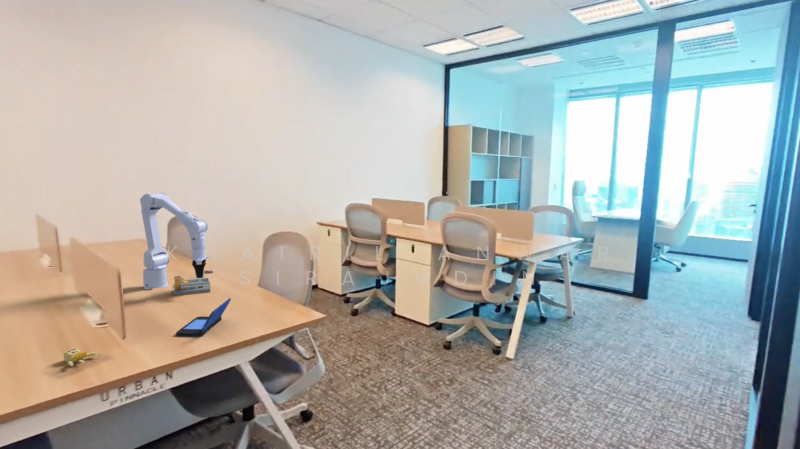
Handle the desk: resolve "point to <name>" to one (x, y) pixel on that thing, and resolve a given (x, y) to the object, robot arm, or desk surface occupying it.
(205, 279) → the tray
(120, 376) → the desk surface
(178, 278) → the clip
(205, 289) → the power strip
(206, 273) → the plug
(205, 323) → the handheld game console
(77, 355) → the character toy
